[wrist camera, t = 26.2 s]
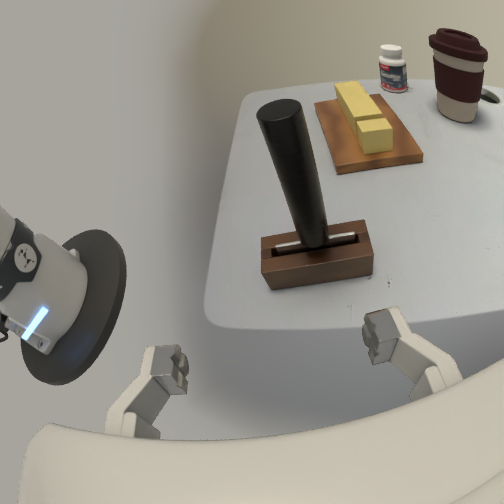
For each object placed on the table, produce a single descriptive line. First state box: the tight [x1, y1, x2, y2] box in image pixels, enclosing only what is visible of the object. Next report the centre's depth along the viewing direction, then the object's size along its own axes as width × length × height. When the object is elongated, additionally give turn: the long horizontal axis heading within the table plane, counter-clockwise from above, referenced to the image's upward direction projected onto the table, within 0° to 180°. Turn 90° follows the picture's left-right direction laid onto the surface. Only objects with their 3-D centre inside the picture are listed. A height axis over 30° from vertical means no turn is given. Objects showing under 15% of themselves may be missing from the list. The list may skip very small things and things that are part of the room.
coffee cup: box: [429, 28, 488, 122], centre depth 28 cm, size 10×10×15 cm
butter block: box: [334, 81, 383, 138], centre depth 36 cm, size 4×12×4 cm, turn 179°
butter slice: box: [357, 118, 393, 154], centre depth 31 cm, size 4×3×4 cm, turn 89°
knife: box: [256, 99, 355, 256], centre depth 21 cm, size 7×3×17 cm, turn 89°
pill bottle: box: [379, 45, 407, 93], centre depth 39 cm, size 5×5×9 cm
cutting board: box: [314, 94, 423, 175], centre depth 37 cm, size 12×18×2 cm, turn 179°
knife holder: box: [261, 219, 374, 290], centre depth 26 cm, size 10×4×4 cm, turn 89°
